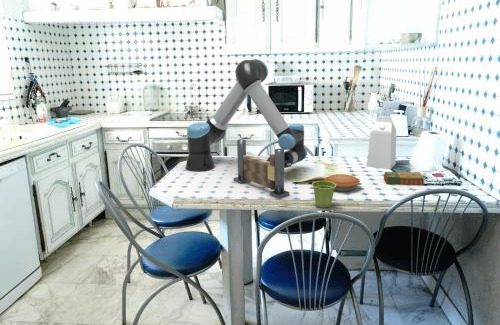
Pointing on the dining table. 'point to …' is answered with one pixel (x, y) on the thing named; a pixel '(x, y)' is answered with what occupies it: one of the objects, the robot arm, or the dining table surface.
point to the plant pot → (323, 193)
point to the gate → (258, 170)
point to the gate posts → (273, 171)
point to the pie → (343, 182)
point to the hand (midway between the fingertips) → (260, 170)
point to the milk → (382, 144)
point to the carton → (403, 178)
